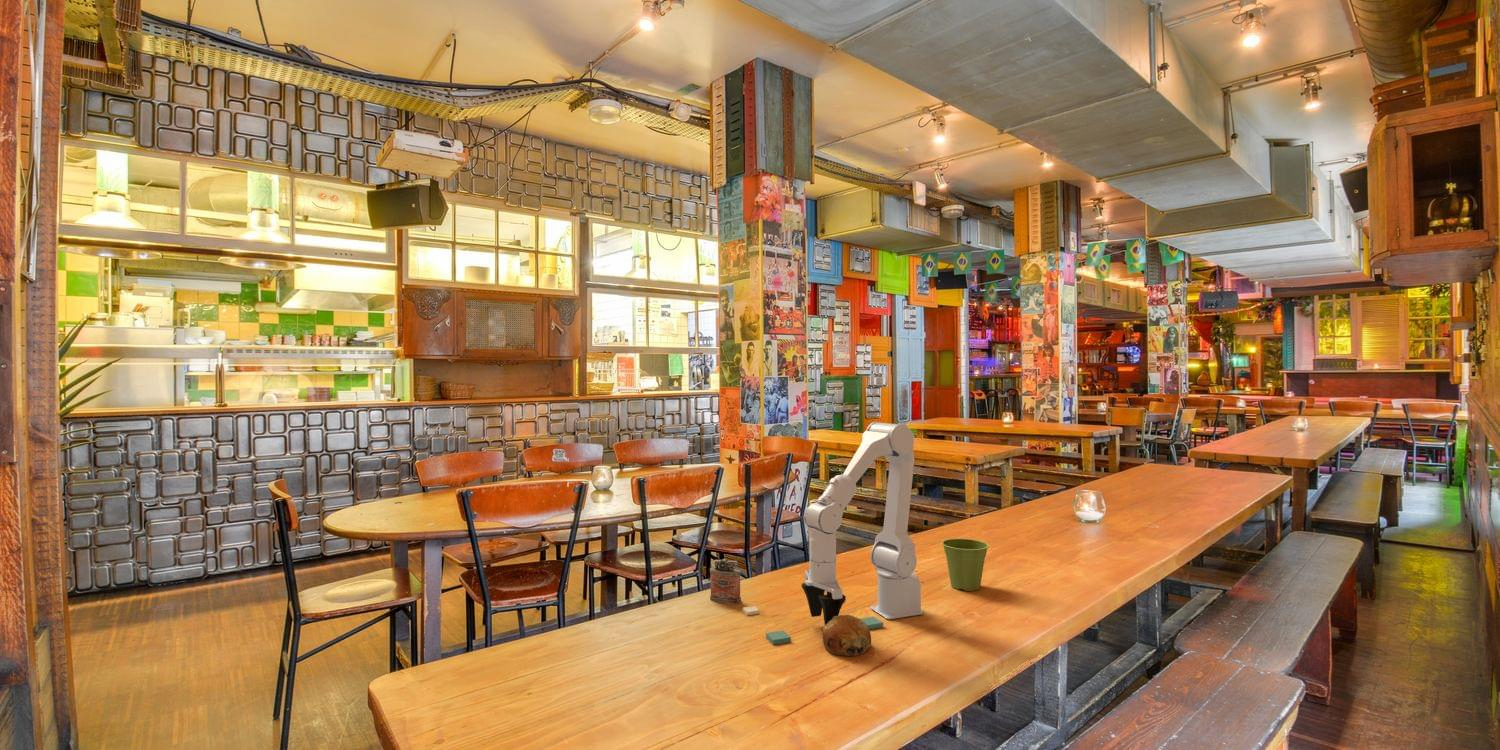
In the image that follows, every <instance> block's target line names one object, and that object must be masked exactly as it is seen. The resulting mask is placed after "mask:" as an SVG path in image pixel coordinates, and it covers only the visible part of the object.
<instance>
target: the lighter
mask: <svg viewBox="0 0 1500 750" xmlns="http://www.w3.org/2000/svg"><path fill="white" fill-rule="evenodd" d="M713 563H714V564H713V565H714V566H713V567H711V568H709V573H710V595H709V600H710V601H714V602H718V603H724V604H740V603H742V598H741V575H742V574H741V573H742V572H741V570H740V569H736V568H738V567H739V562H738V561H737V560H731V559H730V560H728V559H727V558H723V559H715V560H714V562H713Z"/></svg>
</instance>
